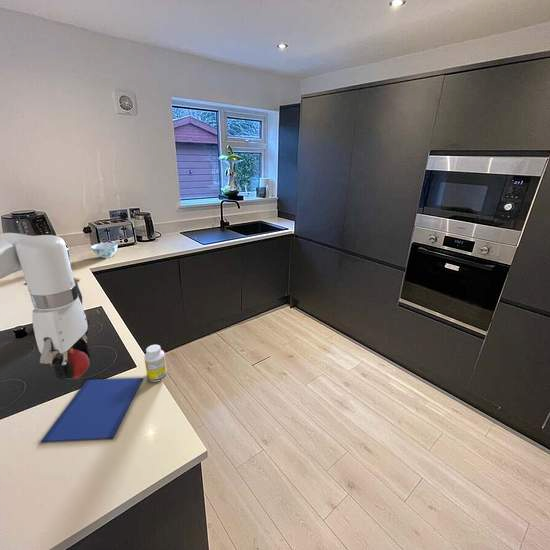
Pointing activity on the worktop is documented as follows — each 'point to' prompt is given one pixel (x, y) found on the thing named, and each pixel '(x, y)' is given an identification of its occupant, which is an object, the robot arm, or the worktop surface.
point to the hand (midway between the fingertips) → (74, 366)
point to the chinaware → (105, 249)
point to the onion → (78, 362)
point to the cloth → (95, 410)
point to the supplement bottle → (155, 363)
